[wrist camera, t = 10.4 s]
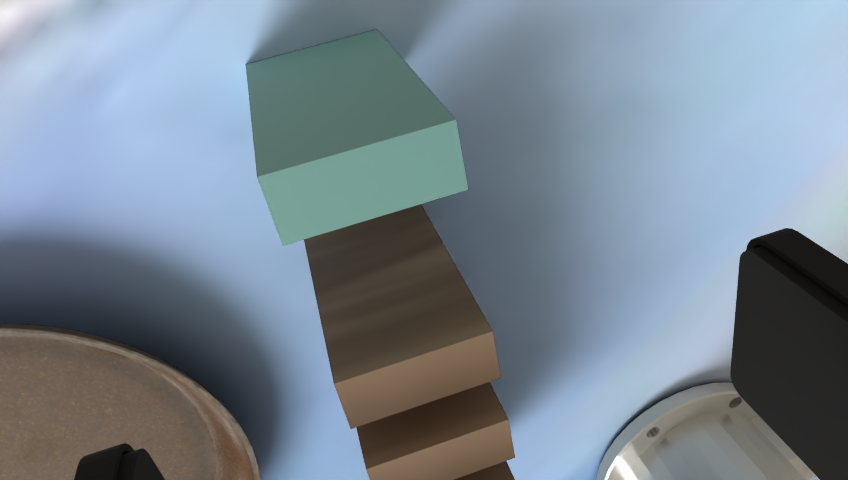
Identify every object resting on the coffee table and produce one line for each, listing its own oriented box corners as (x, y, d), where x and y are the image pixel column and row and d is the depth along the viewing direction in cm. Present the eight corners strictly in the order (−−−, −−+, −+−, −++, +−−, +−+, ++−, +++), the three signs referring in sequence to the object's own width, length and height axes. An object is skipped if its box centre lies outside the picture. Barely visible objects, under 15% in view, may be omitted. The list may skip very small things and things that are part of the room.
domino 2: (326, 297, 30) (366, 469, 21) (430, 264, 30) (508, 419, 22) (337, 330, 31) (379, 506, 22) (437, 297, 31) (515, 457, 23)
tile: (388, 80, 25) (468, 189, 17) (263, 115, 25) (282, 245, 17) (376, 29, 24) (456, 119, 16) (245, 64, 24) (256, 177, 15)
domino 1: (300, 224, 28) (334, 383, 19) (413, 190, 28) (492, 331, 20) (314, 262, 29) (350, 429, 20) (421, 229, 29) (501, 377, 21)
